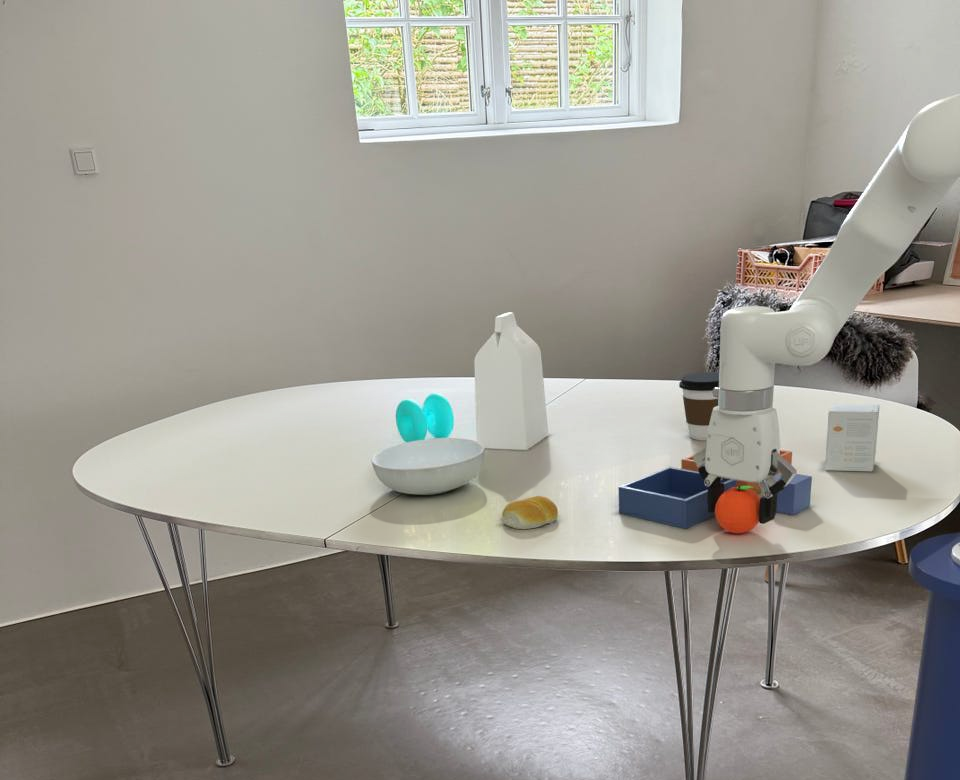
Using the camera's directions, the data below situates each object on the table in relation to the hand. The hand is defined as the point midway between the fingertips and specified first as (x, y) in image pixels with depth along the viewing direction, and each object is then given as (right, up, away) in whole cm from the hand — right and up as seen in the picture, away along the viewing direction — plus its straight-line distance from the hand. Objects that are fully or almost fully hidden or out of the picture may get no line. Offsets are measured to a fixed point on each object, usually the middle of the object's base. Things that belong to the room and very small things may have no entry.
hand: (740, 515), depth 142 cm
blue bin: (-7, +3, +12) cm, 14 cm away
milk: (-32, +24, +61) cm, 73 cm away
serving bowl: (-48, +9, +35) cm, 60 cm away
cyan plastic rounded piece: (-51, +25, +67) cm, 88 cm away
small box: (+26, +12, +25) cm, 38 cm away
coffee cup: (+7, +23, +52) cm, 57 cm away
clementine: (0, -2, +1) cm, 3 cm away
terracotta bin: (+6, +9, +24) cm, 26 cm away
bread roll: (-31, 0, +13) cm, 34 cm away
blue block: (+10, +2, +9) cm, 13 cm away
